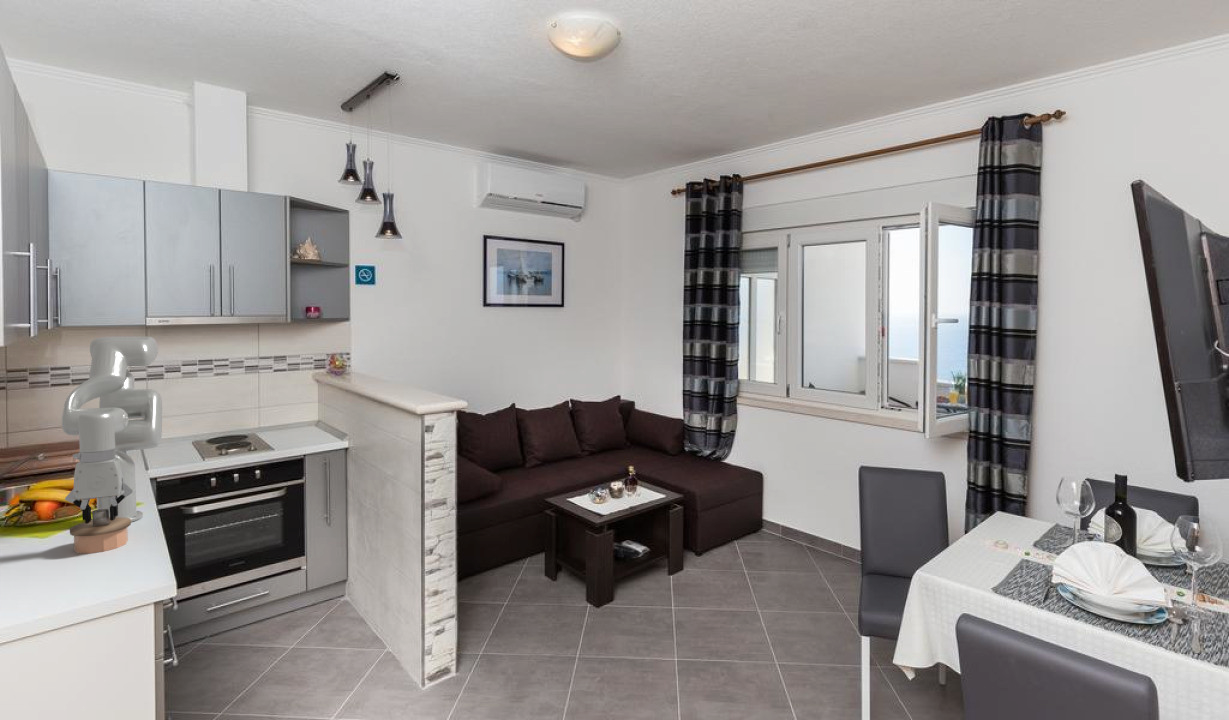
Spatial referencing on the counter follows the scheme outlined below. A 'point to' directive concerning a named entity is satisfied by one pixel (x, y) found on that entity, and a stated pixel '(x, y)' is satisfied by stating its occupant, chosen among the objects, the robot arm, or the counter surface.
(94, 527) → the lid
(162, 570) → the counter surface
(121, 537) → the bowl
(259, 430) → the counter surface
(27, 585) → the counter surface
